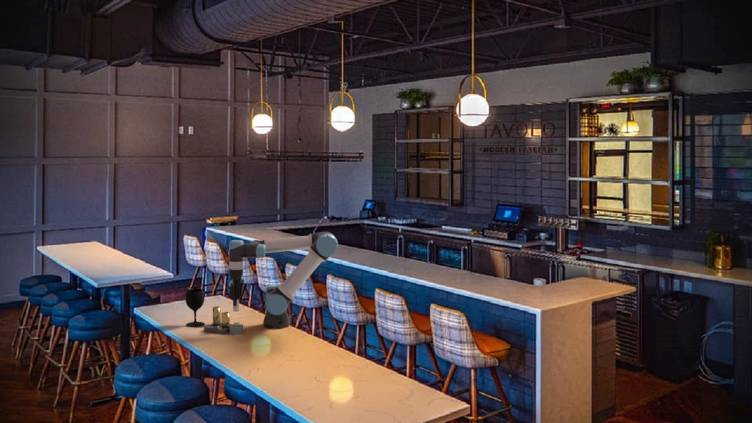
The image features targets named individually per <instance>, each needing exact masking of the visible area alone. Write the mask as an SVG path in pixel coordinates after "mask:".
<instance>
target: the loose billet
mask: <svg viewBox="0 0 752 423" xmlns="http://www.w3.org/2000/svg"><path fill="white" fill-rule="evenodd" d="M214 322H219V323H222V312H221V306H219V305H217V306H212V323H214Z"/></svg>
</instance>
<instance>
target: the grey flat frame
mask: <svg viewBox="0 0 752 423" xmlns="http://www.w3.org/2000/svg"><path fill="white" fill-rule="evenodd" d="M232 325H234V323H230V326H232ZM203 332H204V333H205V332H206V333H215V334H219V335H220V334H221V335H227V334H230V327H229V328H222V322H221V323H219V322H214V323H213V322H212V323H210V324H208V325H204V327H203Z"/></svg>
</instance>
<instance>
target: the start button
mask: <svg viewBox="0 0 752 423" xmlns="http://www.w3.org/2000/svg"><path fill="white" fill-rule="evenodd" d="M233 324H234V327H239V324H240V322H239V321H234V322H233Z"/></svg>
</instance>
